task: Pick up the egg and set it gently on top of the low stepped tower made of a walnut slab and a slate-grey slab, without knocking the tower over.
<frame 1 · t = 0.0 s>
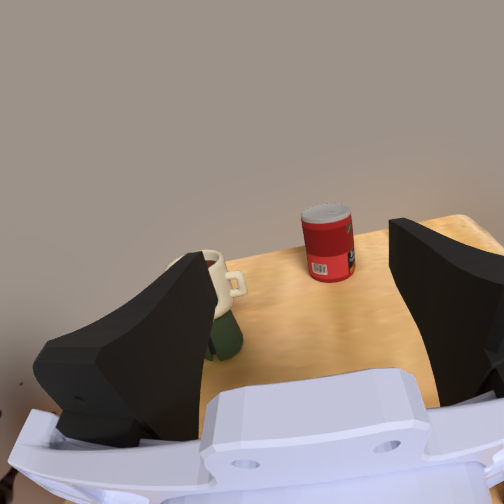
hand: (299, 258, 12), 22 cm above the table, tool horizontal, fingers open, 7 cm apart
character mug: (222, 349, 41), on the table
canned food: (332, 272, 53), on the table
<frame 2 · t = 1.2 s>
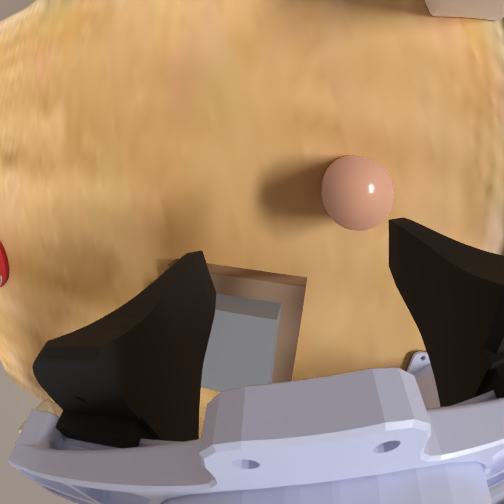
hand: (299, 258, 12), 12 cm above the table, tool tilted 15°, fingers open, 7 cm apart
base slab: (238, 322, 28), on the table
egg: (352, 185, 22), on the table
top slab: (228, 337, 26), point 2 cm above the table
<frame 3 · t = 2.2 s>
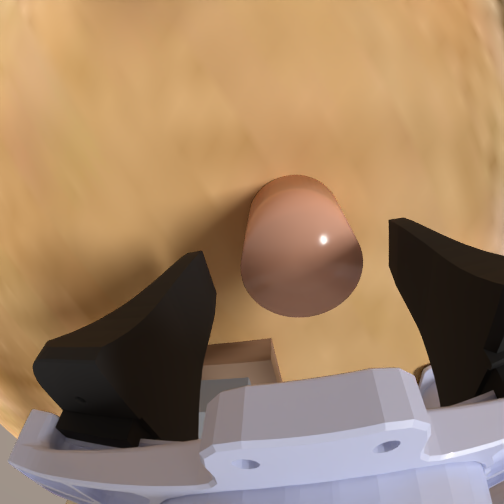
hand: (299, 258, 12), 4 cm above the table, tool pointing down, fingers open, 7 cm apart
base slab: (213, 387, 23), on the table, touching top slab
egg: (294, 219, 15), on the table
top slab: (207, 412, 21), point 2 cm above the table, touching base slab
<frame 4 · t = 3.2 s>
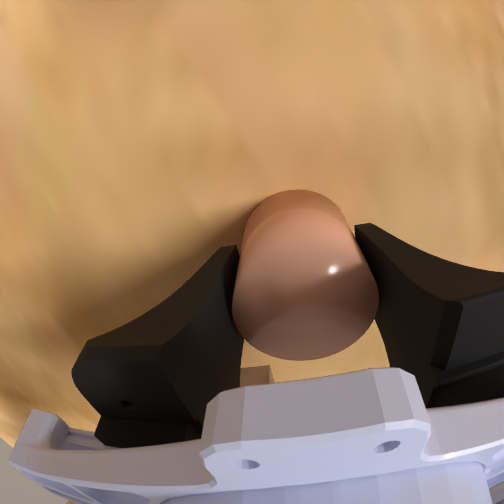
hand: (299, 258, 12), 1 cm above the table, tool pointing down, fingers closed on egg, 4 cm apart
base slab: (208, 410, 21), on the table, touching top slab
egg: (296, 240, 13), on the table, touching gripper
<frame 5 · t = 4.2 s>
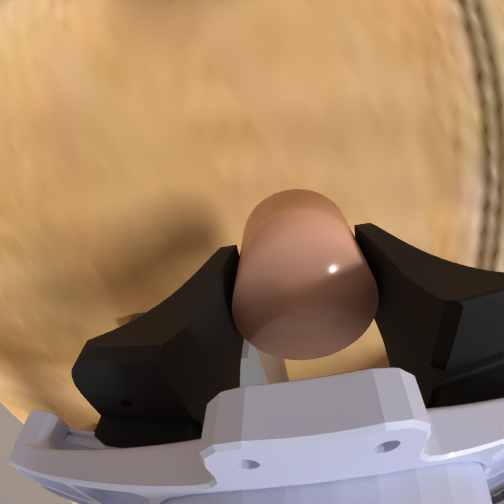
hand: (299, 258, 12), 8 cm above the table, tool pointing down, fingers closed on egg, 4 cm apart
base slab: (217, 350, 26), on the table
egg: (296, 240, 13), point 6 cm above the table, touching gripper
top slab: (213, 371, 24), point 2 cm above the table
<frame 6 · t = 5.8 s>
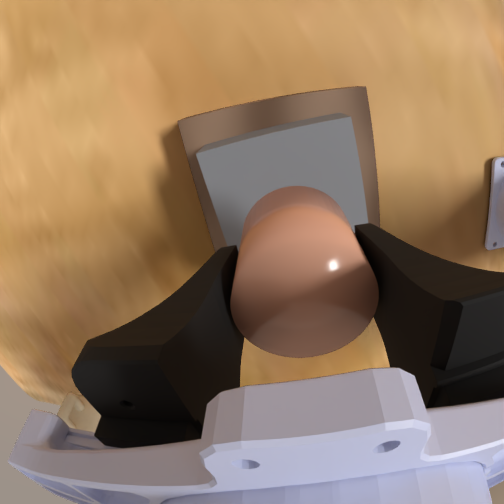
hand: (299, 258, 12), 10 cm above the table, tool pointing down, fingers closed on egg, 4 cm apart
character mug: (124, 363, 31), on the table
base slab: (287, 177, 21), on the table, touching top slab
egg: (296, 237, 13), point 8 cm above the table, touching gripper
top slab: (288, 190, 19), point 2 cm above the table, touching base slab
when the fingers open (7 cm above the table, at t = 6.6 s): egg drops 2 cm, resting on top slab.
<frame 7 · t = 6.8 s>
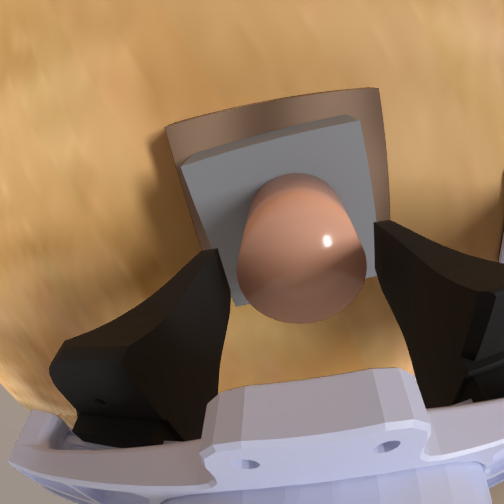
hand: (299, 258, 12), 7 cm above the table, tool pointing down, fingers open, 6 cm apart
base slab: (288, 188, 19), on the table
egg: (296, 219, 14), point 4 cm above the table, touching top slab
top slab: (288, 204, 17), point 2 cm above the table, touching egg
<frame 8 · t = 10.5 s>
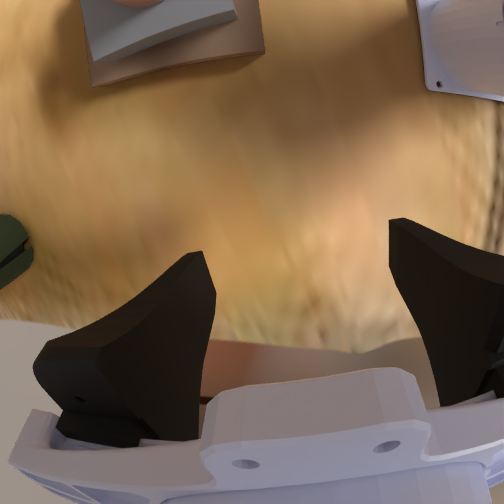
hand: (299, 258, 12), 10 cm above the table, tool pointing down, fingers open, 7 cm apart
character mug: (15, 238, 25), on the table
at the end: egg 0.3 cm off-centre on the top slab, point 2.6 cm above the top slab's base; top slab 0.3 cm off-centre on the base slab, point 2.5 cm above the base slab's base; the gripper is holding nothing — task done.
